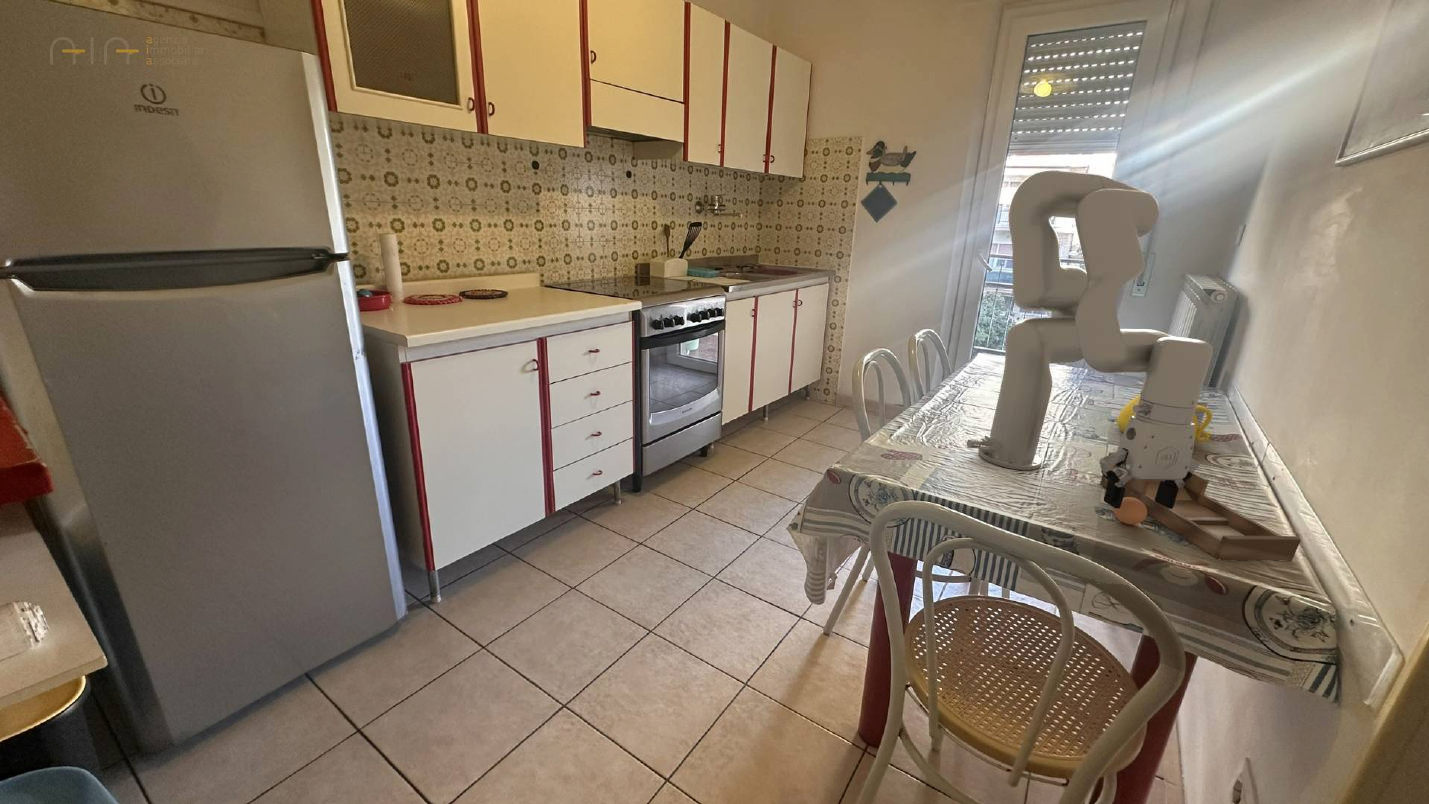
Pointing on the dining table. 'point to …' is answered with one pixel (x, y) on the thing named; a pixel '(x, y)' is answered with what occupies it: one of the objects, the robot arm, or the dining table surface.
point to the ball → (1131, 511)
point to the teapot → (1128, 413)
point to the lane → (1211, 522)
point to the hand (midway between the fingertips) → (1137, 505)
